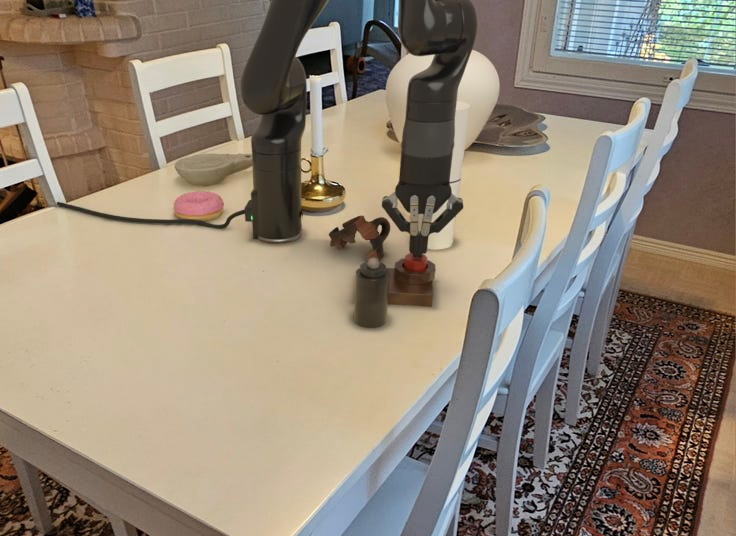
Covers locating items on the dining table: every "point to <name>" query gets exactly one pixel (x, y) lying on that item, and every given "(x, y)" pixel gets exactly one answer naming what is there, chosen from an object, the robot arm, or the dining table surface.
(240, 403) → the dining table surface
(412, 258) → the button
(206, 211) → the doughnut
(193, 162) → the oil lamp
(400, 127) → the vase
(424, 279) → the button box
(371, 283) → the pepper mill
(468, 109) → the cylindrical container
